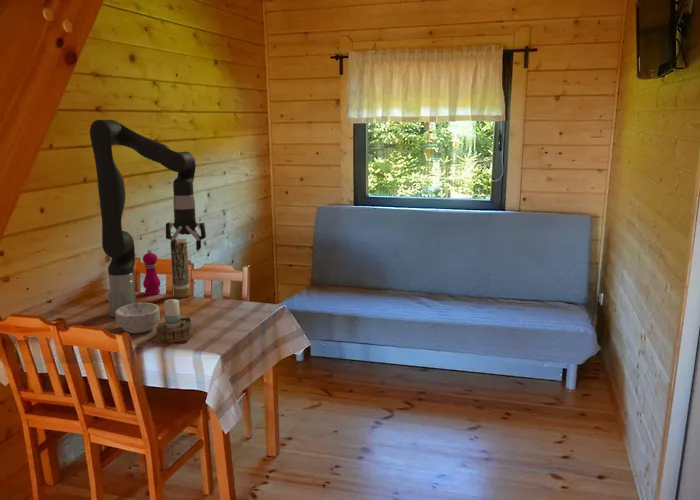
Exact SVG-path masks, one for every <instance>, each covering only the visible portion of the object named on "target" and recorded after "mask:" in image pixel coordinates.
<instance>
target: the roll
mask: <svg viewBox="0 0 700 500" xmlns="http://www.w3.org/2000/svg"><path fill="white" fill-rule="evenodd" d="M163 307H164V322H165V323H166V329H178V328H181V327H180V320H181V313H180V312H181V311H180V301H179V300H178V299H177V298H176V299H175V298H174V299H173V298H172V299H166V300H164V302H163Z"/></svg>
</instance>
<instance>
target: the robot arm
mask: <svg viewBox="0 0 700 500" xmlns="http://www.w3.org/2000/svg"><path fill="white" fill-rule="evenodd" d="M89 137H90V143H91V148H92V152H93V156H94V160H95V161H94V162H95V170H96V177H97V189H98V198H99V204H100V205H99V207H100V215H101V244H102V250H103V253H104V254H105V255H106V256H107V257H109V258H111V260H110V262H109V264H108V267H107V274H108V282H109V283H108V286H109V292H108V293H107V294H108V295H107V296H108V297H107V299H108V309H109V318H115V319H116V315H115V311H116V310H117V309H118V308H120V307H122V306H125V305H129V304H134V303H137V296H136V285H135V284H136V283H135V272H134V268H135V267H134V266H135V263H136V260H135V259H136V254H135V250H136V249H135V241H134V238H133V236H132V234H131V233H129V232H128V231H125V230H123V227H122V226H123V225H122V217H123V212H124V208H125V203H126V188H125V187H126V186H125V180H124V178H123V175H122V174H121V171H120V170H119V168H118V166H117V164H116V162H115V160H114V156H113V149H112V148H113V147H112V146H114V145H119V146H123V147H126V148H129V149H132V150H134V151H135V152H137V153H138V154H139V155H140V156H142V157H143V158H145V159H148V160H150V161H153V162H156V163H158V164H160V165H162V167H164V168H167V170H170V171H172V172H175V173H177V177H176V178H175V179H174V180H173V182H172V190H173V200H172V201H173V202H172V203H173V219H174V220H173V222H170V221H168V222H166V223H165V239H167V240H170V242H171V244H170V247H171V246H172V249H173V250H177V243H176V240H175V239H177V237H178V236H179V235H187V236H189V235H192V237H194V239H195V240H196V241H195V245H196V246H195V247H196V252H197V251H200V249H201V248H202V240H205V239H206V238H207V233H206V226H205V225H206V224H205V222H197V221H196V220H197V218H196V203H195V201H196V200H195V196H194V195H195V194H194V180H195V173H196V167H197V165H196V159H195V156H194V155H193V154H192V153H191V152H189V151H174V150H172V149H171V148H170V146H169V145H166V144H164V143H161V142H160V141H157V140H154V139H151V138H149V137H146V136H143V135H142V134H140V133H137V132H135V131H134V130H131V129H130V128H128V126H127V127H126V126H125V125H124V124H122V123H121V122H118V121H116V120H114V119H96V120H94V121H92V122H91V125H90V127H89ZM173 227H174V229H175V230H176V231H175V232H174V233H173V234H172V228H173ZM197 227H198V229H199V230H200V234H199V232H198V231H197V230H196V228H197Z"/></svg>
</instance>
